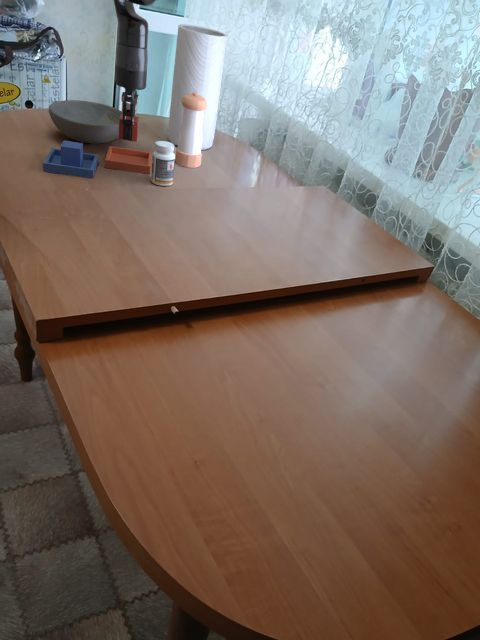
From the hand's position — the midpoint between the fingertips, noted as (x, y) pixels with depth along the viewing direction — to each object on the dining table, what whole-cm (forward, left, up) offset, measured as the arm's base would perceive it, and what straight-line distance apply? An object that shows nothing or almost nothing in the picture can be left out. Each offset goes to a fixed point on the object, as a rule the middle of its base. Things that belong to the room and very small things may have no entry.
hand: (128, 136), depth 142 cm
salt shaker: (+16, +8, -8) cm, 20 cm away
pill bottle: (+9, -10, -8) cm, 15 cm away
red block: (0, 0, 0) cm, 0 cm away
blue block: (-13, -7, -7) cm, 16 cm away
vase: (+17, +27, -8) cm, 33 cm away
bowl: (-12, +15, -8) cm, 21 cm away
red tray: (0, +1, -7) cm, 8 cm away
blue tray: (-13, -8, -7) cm, 17 cm away
